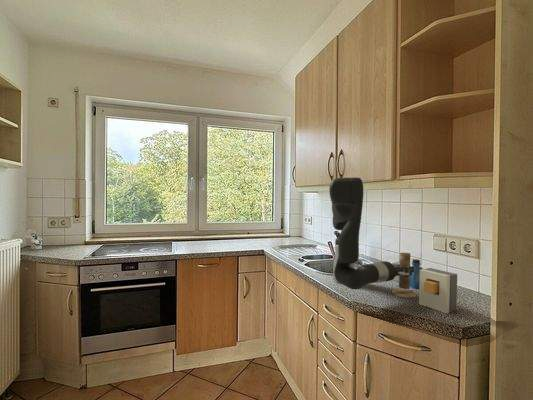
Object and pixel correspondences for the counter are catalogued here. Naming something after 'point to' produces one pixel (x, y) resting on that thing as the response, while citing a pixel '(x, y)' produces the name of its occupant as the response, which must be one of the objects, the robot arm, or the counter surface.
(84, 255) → the counter surface
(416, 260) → the perfume bottle
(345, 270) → the robot arm
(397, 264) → the medicine box
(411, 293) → the stand
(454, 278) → the box
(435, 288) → the button
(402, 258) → the brown wooden cylinder
